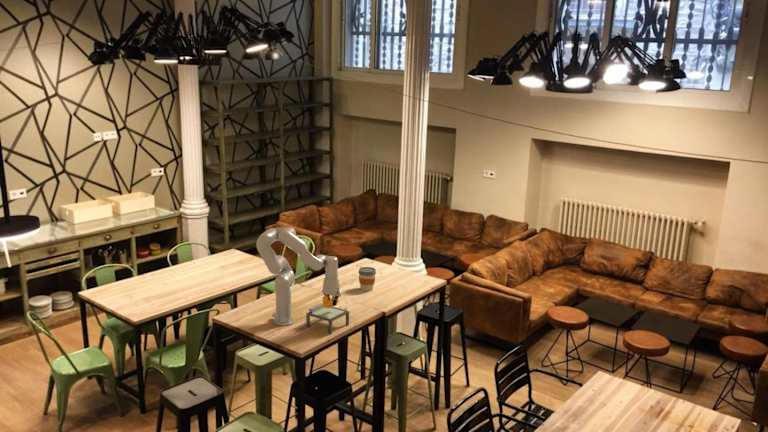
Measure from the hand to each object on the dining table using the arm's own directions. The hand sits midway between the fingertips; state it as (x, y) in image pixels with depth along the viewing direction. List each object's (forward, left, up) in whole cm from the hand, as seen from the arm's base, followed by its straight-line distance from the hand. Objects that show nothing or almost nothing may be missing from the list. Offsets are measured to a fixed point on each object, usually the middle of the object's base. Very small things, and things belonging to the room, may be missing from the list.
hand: (331, 304), depth 422 cm
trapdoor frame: (-3, 0, -15) cm, 15 cm away
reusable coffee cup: (-23, +72, -15) cm, 77 cm away
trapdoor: (-4, 0, -7) cm, 8 cm away
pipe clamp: (0, 0, -1) cm, 1 cm away
